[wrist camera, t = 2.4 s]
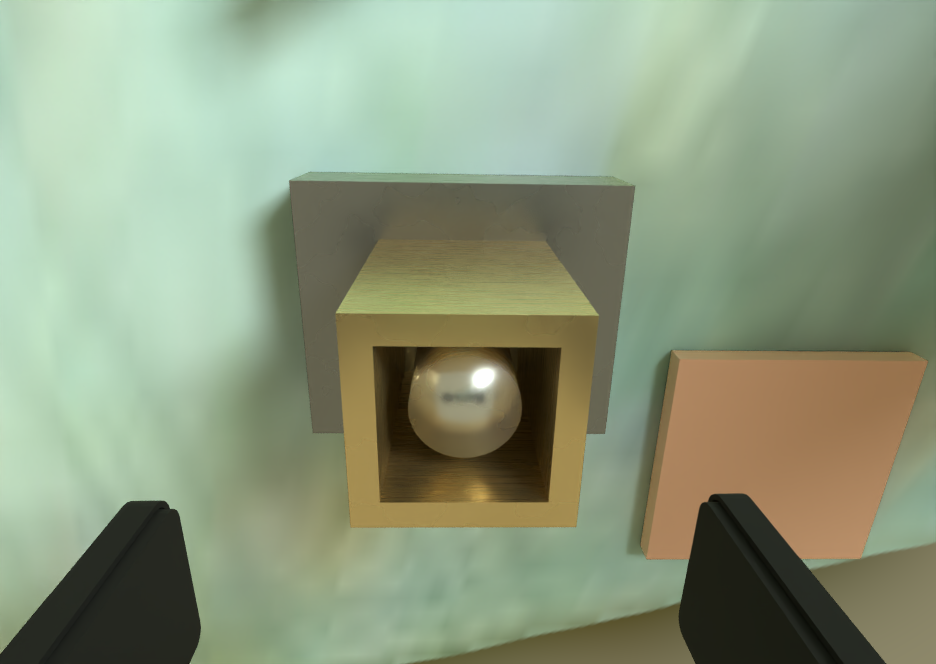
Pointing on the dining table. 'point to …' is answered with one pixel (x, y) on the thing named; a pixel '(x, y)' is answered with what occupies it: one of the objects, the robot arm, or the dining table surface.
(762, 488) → the tile
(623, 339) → the dining table surface
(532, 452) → the sleeve
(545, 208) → the grey base with post
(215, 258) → the dining table surface
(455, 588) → the dining table surface
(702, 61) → the dining table surface
